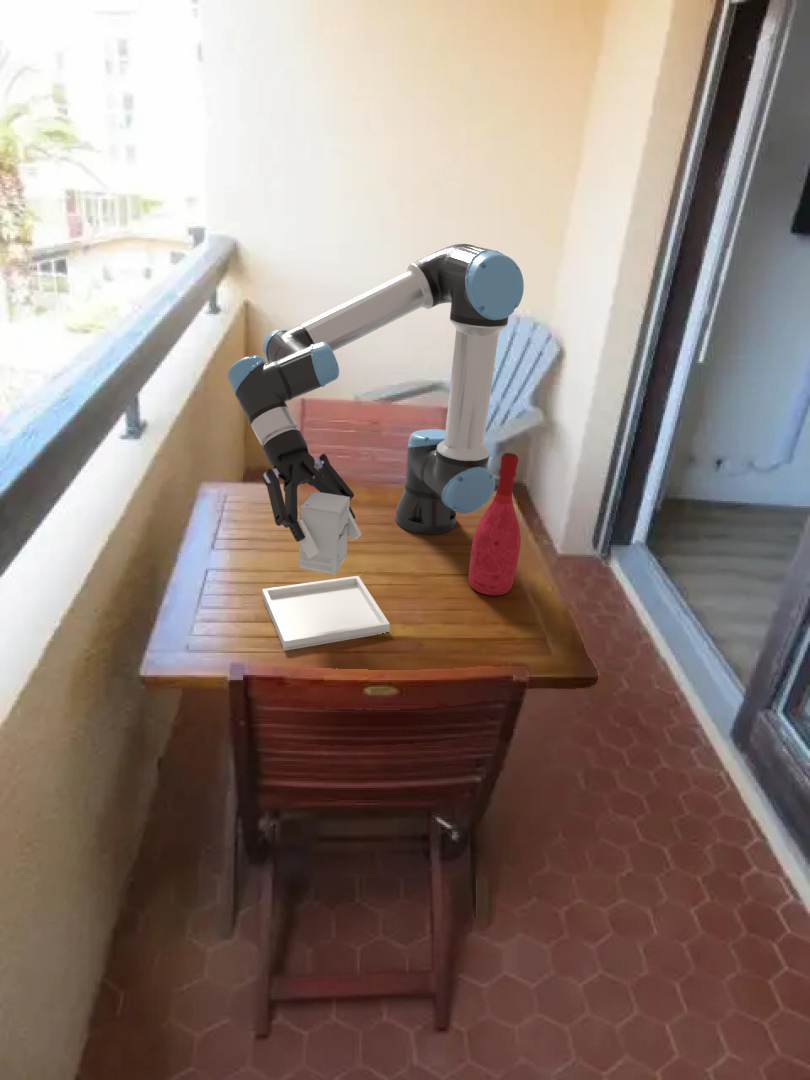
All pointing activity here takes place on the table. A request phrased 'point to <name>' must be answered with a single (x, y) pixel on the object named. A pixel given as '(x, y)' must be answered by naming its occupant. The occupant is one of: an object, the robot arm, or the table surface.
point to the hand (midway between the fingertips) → (335, 546)
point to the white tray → (323, 612)
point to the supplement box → (325, 531)
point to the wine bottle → (497, 538)
